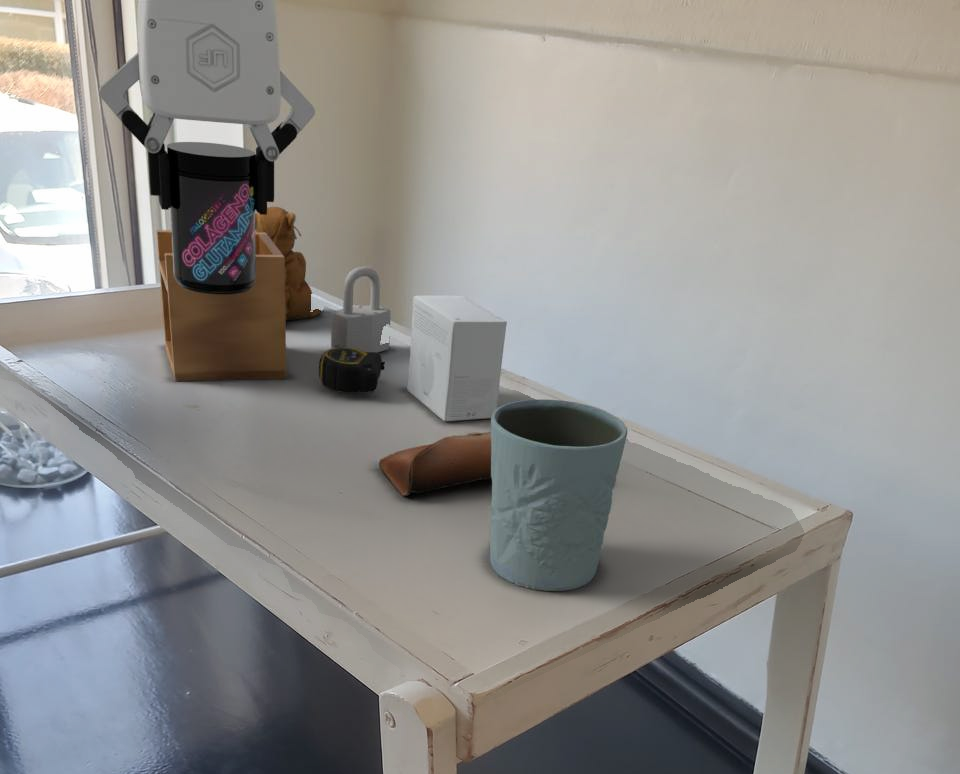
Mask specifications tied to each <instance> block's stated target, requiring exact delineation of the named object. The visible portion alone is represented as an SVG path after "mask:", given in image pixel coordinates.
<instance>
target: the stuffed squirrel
mask: <svg viewBox="0 0 960 774" xmlns="http://www.w3.org/2000/svg"><path fill="white" fill-rule="evenodd" d="M296 221H297V215H296V214H295V213H294V212H289V211H287V210H286V209H284V208H283V207H279V206H267V215H261V214H260V213H258V212H255V232H262V233H266V234H267V235H268V236H269V238H270V239H271V240H272V241H273V243H274V244H275V245H276V247H277V248H278V249H279V251H280V252H281V253H282V255H283V256H284V258H285V322H287V321H293V320H296V321H297V320H303V319H311V318H314V317H317V316H318V315H320V314H321V313H322V312H323V311H321V310H319V309H315V310H313V312H310V311H311V294H313V292H312V289H311V286H310V285H309V283H308V282H307V281H306V273H307V261H306V258H305V256H304V254H303V253H302V252H301V251H294V250H293V248H294V247H295V242H296V240H297V239H298V238H297V235H296V232H295V230H296V231H297V233H298V235H299V237H302V234H301V233H300V231H299V229H298V228H297V227H296V226H295V222H296Z"/></svg>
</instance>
